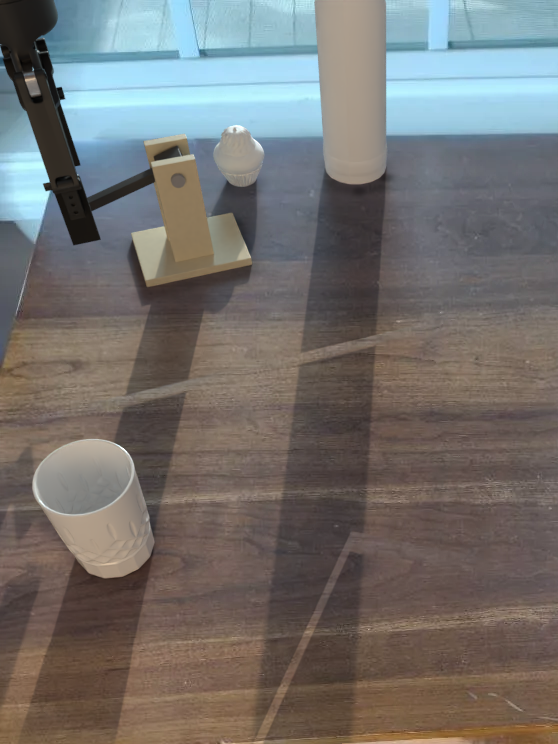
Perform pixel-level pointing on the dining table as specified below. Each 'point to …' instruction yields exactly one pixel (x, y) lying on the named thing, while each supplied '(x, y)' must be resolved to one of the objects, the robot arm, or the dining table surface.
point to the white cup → (96, 506)
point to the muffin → (238, 156)
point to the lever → (130, 183)
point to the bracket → (185, 223)
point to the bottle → (352, 87)
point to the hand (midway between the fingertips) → (76, 202)
